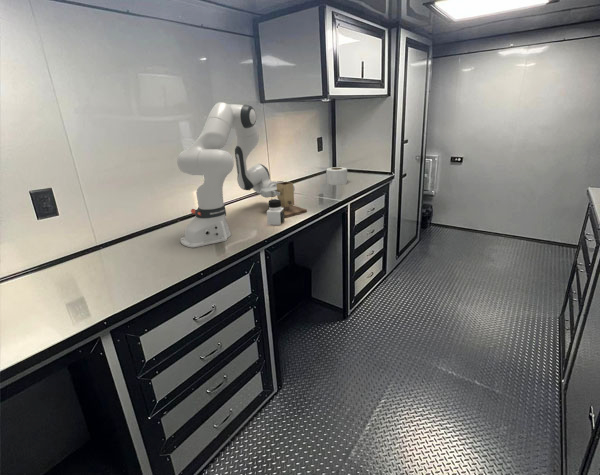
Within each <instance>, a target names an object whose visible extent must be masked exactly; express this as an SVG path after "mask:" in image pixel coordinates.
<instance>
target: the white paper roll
mask: <svg viewBox="0 0 600 475" xmlns="http://www.w3.org/2000/svg"><path fill="white" fill-rule="evenodd" d="M325 173H326V176H325V177H326V184H327V185H329V184H330V186H342V185H341V184H343V185H346V184H348V168H347V167H341V166H335V167H328V168H326V172H325Z"/></svg>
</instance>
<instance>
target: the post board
mask: <svg viewBox="0 0 600 475" xmlns="http://www.w3.org/2000/svg"><path fill="white" fill-rule="evenodd" d="M281 208H284V219H287V218H291V217H294V216H298V215H302V214H305V213H307V212H308V209H306V208H302V207H299V206H295V205H292V206H288V207H282V206H281ZM268 210H269V209H266V210H265V212H266V214H267V211H268Z"/></svg>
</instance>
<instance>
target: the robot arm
mask: <svg viewBox="0 0 600 475" xmlns="http://www.w3.org/2000/svg"><path fill="white" fill-rule="evenodd" d="M207 115H208V116H207V119H206V121H205V122H204V123H205V124H204V125H203V128H202V130H201V132H200V134H199V136H198V137H197V138H196V139H195V141H194V142H193V143H192V144H191V145H190V146H189V147H188V148H186V149H184V150H183V151H181V152H180V153H179V154H178V155H177V161H176V162H177V167H178V168H179V170H180V172H182V173H183V174H184V173H185V174H187V175H190V176H203V178H204V180H203V183H202V184H201V185H199V186H198V188H197V189H196V194H195V195H196V199H197V208H196V209H195V208H191V210H190V212H191V213H192V214H193V215H195V217H194V218H193V219H192V220H191V221H190V222H189V223H188V224H187V225H186V226H185V229H184V236H183V237H182V236H181V237H180V240H179V241H180V242H179V243H180V244H182V246H185V247H188V248H192V249H193V248H199V247H203V246H209V245H214V244H217V243H222V242H227V240H228V238H230V237H231V236H232V233H231V232H232V231H231V230H230V228H229V224H228V222H227V221H228V220H227V211H226V205H225V204H224V194H223V186H224V183H225V180H226V178H227V177H228V176H229V174H230V173H232V171H233V168H234V164H235V165H236V172H237V184H238V186H239V187H240V188H239V189H242V190H243V191H251V190H253V191H254V192H255V193H257V194H259V195H261V196H262V197H263V198H275V197H277V195H278V196H280V195H282V193H281V192H277V185H276V184H277V183H281V182H285V181H283V180H282V181H281V180H280V181H279V180H277V181H275V180H271V175H270V171H269V169H268V167H267V166H265V165H264V164H262V163H257V164H255V165H253V166H252V167H251V168H249V169H248V168H247V167H248V166H247V159H248V156H249V155H250V154H251V152H252V151H254V149H255V148H256V147H257V145H258V143H259V140H260V139H259V131H258V128H257V123H256V121H257V112H256V110H255V109H254V107H253V106H251V105H250V104H249V105H248V104H237V103H236V104H235V103H229V104H228V103H226V102H222V101H219V102H216V103H215V104H214V106H213V107H212V108H211V110H210V112H209V114H207ZM232 129H234V130H235V134H236V146H235V148H234V156H235V157H234V158H235V163H234V158H233V156H232V154H231V152H229V151H227V150H223V148H224V147H225V145H226V144H227V141H228V139H229V135H230V133H231V130H232ZM295 188H296V187H295V185H294V184H293V190H294V191H295Z"/></svg>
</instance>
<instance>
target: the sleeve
mask: <svg viewBox="0 0 600 475" xmlns="http://www.w3.org/2000/svg"><path fill="white" fill-rule="evenodd" d="M276 185H277V192H281V193H282V195H280V196H278V195H276V199H279V200H281V206H282V207H288V206H292V205H293V206H295V196H294V194H295V193H294V192H295V190H293V185H294V182H289V181H284V182H281V183H277V184H276Z"/></svg>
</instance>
